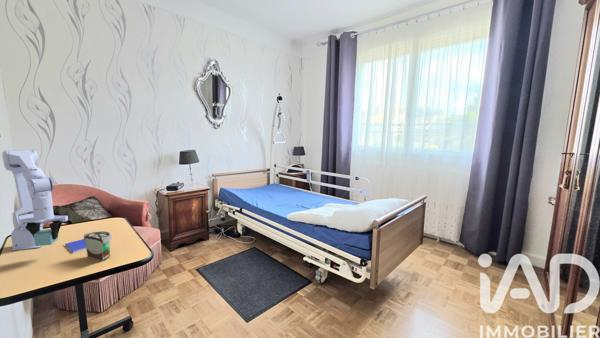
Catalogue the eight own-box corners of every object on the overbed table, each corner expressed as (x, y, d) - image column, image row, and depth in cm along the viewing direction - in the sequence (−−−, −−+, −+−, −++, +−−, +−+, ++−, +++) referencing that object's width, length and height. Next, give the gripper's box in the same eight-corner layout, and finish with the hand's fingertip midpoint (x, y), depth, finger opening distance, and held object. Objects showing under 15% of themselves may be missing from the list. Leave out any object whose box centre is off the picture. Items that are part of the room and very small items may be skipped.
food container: (120, 255, 108) (118, 233, 107) (105, 262, 103) (103, 239, 101) (100, 250, 112) (98, 229, 111) (85, 256, 107) (83, 234, 105)
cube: (35, 246, 100) (33, 234, 100) (42, 241, 105) (41, 229, 104) (51, 244, 102) (49, 233, 101) (58, 239, 107) (56, 228, 106)
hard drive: (96, 244, 115) (87, 237, 122) (72, 251, 109) (65, 243, 116) (96, 248, 116) (87, 240, 123) (73, 254, 109) (65, 246, 116)
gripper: (11, 211, 95) (16, 245, 97) (60, 208, 100) (63, 240, 102) (24, 206, 102) (28, 238, 104) (69, 204, 107) (72, 234, 109)
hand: (46, 239), depth 103 cm, fingers closed on cube, 5 cm apart
